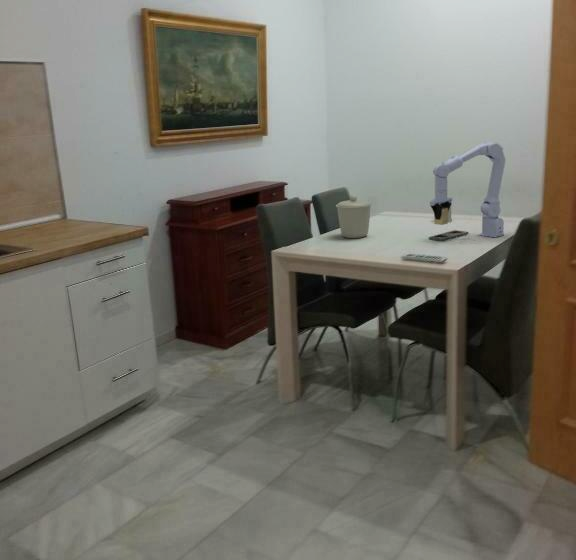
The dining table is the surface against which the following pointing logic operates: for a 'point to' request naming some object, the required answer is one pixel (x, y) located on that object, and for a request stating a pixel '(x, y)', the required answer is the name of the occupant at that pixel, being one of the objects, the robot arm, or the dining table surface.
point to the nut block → (442, 217)
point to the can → (449, 214)
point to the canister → (354, 217)
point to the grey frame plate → (448, 235)
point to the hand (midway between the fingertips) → (441, 218)
